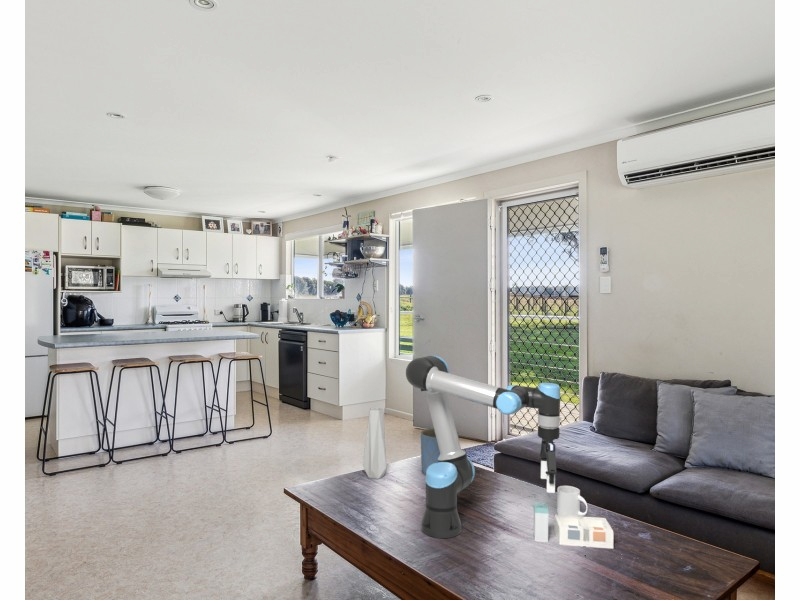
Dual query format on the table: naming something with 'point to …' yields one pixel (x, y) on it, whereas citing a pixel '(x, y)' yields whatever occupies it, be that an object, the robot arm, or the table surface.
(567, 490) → the mug
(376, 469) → the vase
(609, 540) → the socket box
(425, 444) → the planter
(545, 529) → the plug
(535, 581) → the table surface
